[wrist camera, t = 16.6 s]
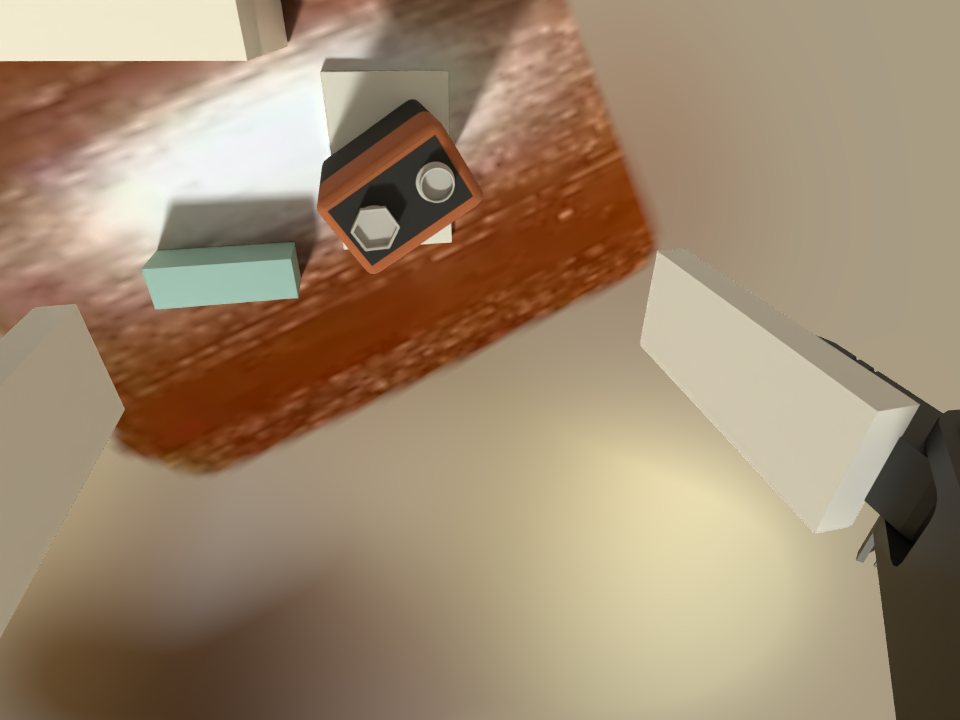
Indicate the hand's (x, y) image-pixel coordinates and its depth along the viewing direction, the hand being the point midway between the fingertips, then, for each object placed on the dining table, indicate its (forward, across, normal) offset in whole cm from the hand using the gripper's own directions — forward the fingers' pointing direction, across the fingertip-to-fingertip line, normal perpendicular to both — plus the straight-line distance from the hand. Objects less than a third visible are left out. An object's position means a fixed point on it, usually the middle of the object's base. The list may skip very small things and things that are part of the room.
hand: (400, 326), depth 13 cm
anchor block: (+23, -9, -7) cm, 25 cm away
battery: (+22, +1, -1) cm, 23 cm away
